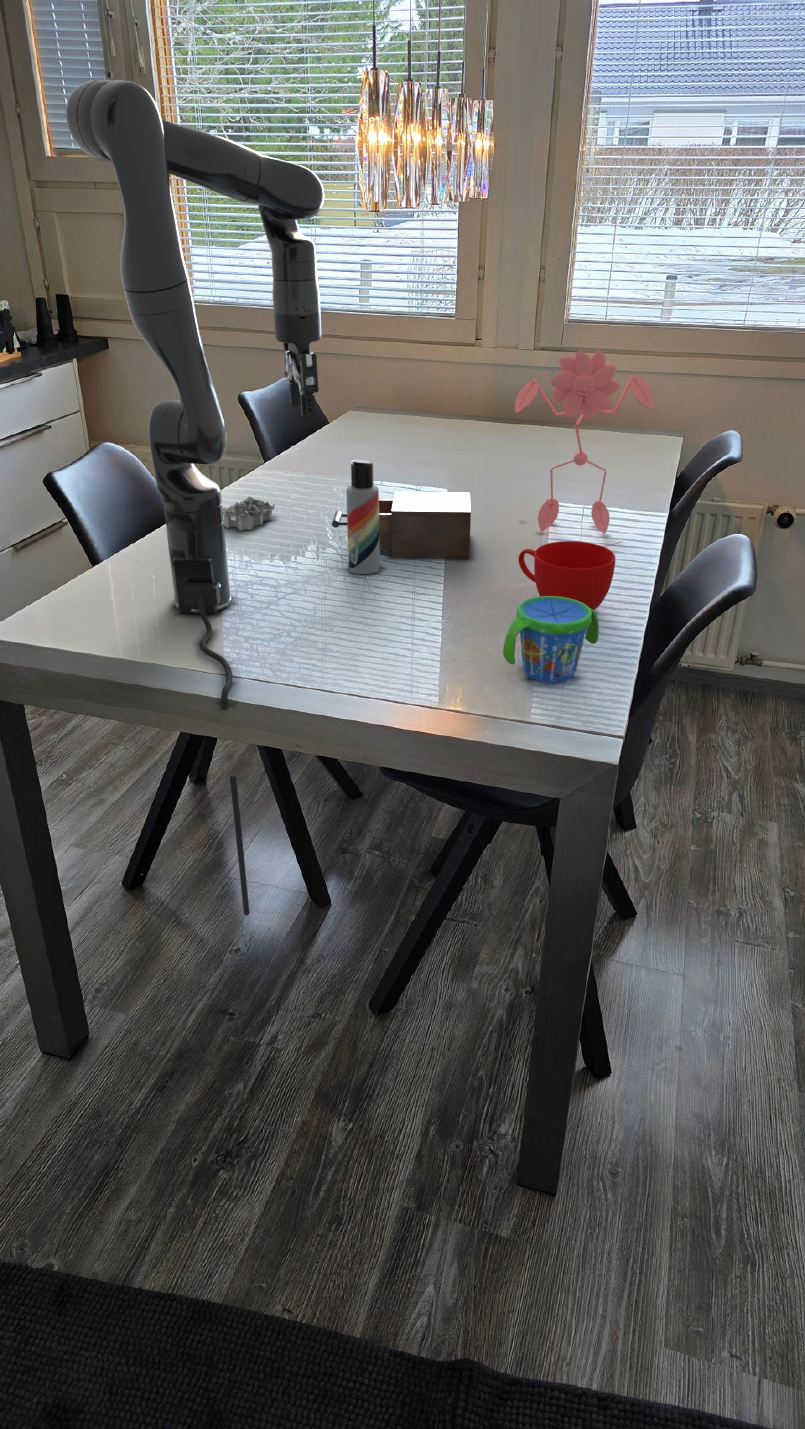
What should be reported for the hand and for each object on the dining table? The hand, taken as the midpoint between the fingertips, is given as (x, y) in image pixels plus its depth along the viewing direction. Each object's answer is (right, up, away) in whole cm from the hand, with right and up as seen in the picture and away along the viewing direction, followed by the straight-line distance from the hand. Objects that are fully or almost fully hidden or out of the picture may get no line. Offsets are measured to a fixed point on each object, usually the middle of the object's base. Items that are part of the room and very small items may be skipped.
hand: (302, 411), depth 169 cm
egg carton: (-15, -12, +38) cm, 42 cm away
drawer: (+12, -18, +24) cm, 33 cm away
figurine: (+50, -16, +30) cm, 61 cm away
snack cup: (+38, -45, -23) cm, 63 cm away
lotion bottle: (+10, -25, +14) cm, 30 cm away
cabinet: (+22, -19, +24) cm, 38 cm away
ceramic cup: (+43, -34, -2) cm, 55 cm away
